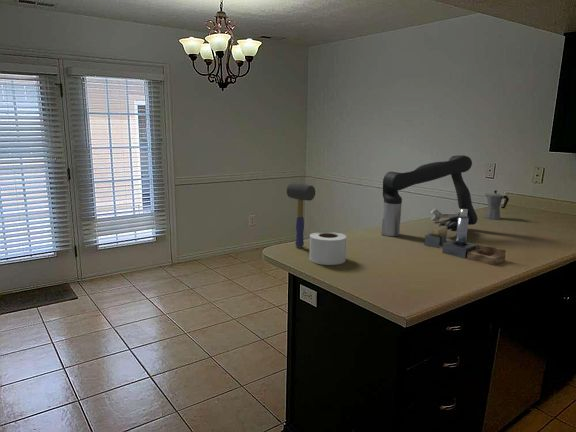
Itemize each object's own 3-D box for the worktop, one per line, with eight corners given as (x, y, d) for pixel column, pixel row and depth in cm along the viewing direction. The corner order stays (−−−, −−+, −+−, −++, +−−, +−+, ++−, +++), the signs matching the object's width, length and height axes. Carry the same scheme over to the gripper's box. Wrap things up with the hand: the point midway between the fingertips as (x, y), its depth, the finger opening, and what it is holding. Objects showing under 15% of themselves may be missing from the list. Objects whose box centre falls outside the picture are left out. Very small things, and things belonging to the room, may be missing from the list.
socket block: (442, 252, 200) (443, 243, 199) (454, 248, 207) (455, 239, 206) (465, 258, 192) (466, 248, 191) (477, 254, 199) (478, 244, 198)
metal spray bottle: (455, 248, 197) (459, 209, 194) (454, 246, 201) (458, 208, 198) (465, 249, 196) (470, 210, 193) (464, 247, 200) (468, 208, 197)
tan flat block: (440, 239, 222) (441, 225, 221) (446, 241, 220) (447, 226, 219) (431, 244, 213) (432, 229, 212) (436, 245, 211) (438, 230, 210)
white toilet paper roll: (308, 254, 194) (309, 230, 192) (343, 255, 194) (344, 231, 191) (309, 265, 179) (310, 239, 177) (347, 266, 178) (348, 240, 176)
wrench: (458, 222, 280) (431, 222, 261) (455, 222, 281) (428, 222, 262) (460, 210, 279) (433, 209, 260) (457, 209, 280) (430, 208, 261)
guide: (431, 241, 219) (432, 232, 218) (445, 244, 215) (446, 234, 214) (424, 245, 212) (425, 235, 211) (438, 247, 208) (439, 237, 207)
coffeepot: (478, 217, 283) (481, 189, 279) (486, 215, 288) (489, 188, 285) (502, 221, 271) (505, 192, 267) (509, 219, 276) (513, 191, 273)
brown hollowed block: (466, 258, 192) (467, 247, 191) (477, 254, 198) (478, 244, 197) (493, 265, 183) (495, 254, 182) (504, 261, 189) (505, 250, 188)
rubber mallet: (284, 246, 206) (285, 182, 200) (294, 243, 211) (295, 181, 205) (304, 251, 198) (306, 185, 192) (314, 248, 203) (317, 184, 197)
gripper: (445, 214, 236) (432, 219, 223) (470, 218, 228) (458, 223, 215) (443, 227, 238) (431, 233, 225) (468, 231, 230) (456, 237, 217)
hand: (444, 228), depth 220 cm, fingers closed
